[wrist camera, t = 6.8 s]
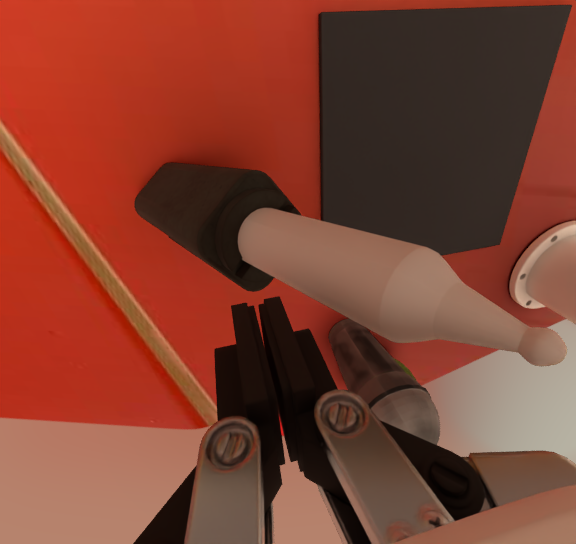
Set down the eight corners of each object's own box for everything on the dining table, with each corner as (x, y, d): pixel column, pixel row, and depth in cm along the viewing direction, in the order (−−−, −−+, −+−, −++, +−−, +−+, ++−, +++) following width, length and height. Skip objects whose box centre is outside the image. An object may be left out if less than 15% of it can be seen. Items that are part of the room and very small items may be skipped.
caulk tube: (127, 206, 23) (487, 446, 4) (170, 155, 24) (637, 173, 5) (180, 246, 26) (517, 478, 8) (217, 199, 27) (606, 309, 8)
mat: (565, 6, 26) (572, 4, 26) (495, 242, 37) (499, 244, 37) (318, 14, 22) (321, 12, 22) (321, 275, 33) (323, 277, 33)
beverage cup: (311, 356, 39) (397, 554, 22) (325, 308, 36) (438, 497, 19) (362, 355, 41) (476, 535, 24) (380, 309, 38) (525, 480, 21)
